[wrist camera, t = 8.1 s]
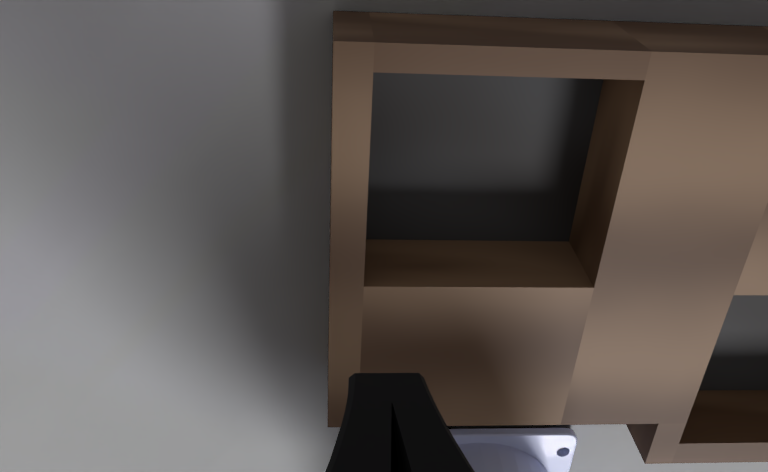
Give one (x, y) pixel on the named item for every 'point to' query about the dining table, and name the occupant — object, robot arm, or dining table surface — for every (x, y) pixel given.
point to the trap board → (555, 223)
